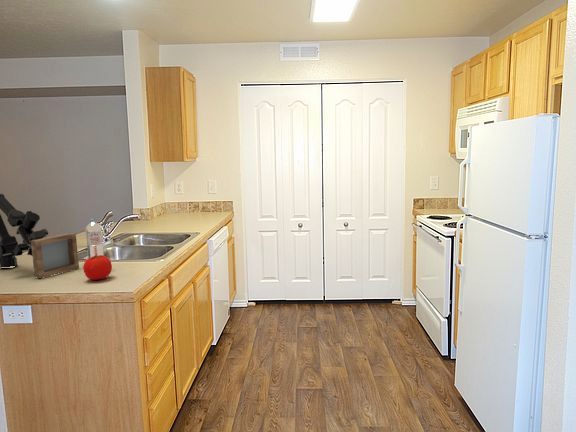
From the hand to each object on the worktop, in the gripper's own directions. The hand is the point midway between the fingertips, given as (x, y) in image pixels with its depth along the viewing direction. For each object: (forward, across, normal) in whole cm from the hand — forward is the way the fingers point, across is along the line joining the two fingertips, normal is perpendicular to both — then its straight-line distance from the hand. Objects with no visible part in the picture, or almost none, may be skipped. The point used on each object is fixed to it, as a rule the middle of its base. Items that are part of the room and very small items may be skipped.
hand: (44, 260), depth 211 cm
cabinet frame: (+8, +3, +2) cm, 8 cm away
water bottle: (+18, +14, -9) cm, 24 cm away
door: (+5, +3, +4) cm, 7 cm away
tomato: (+27, +4, -18) cm, 33 cm away
